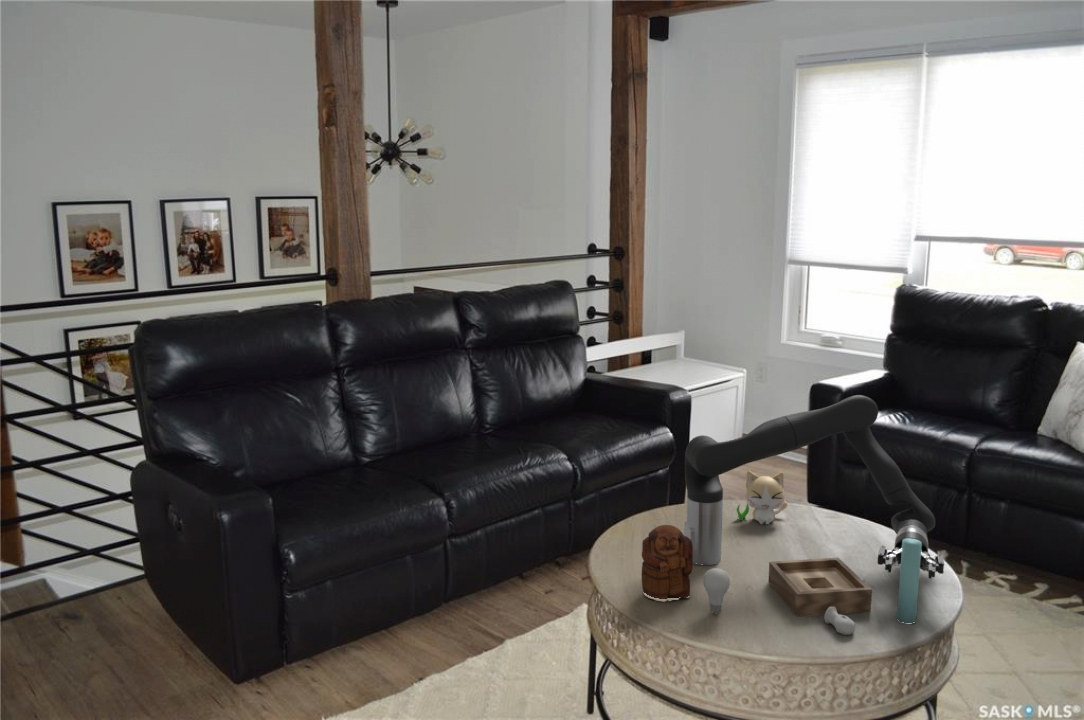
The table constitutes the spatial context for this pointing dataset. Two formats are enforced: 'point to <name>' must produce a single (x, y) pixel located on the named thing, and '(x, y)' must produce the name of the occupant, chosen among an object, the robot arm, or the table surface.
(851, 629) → the pale two-lobed sculpture
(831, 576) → the box
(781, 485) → the kitten
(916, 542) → the peg
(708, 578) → the lightbulb
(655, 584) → the wooden figurine
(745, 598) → the table surface
